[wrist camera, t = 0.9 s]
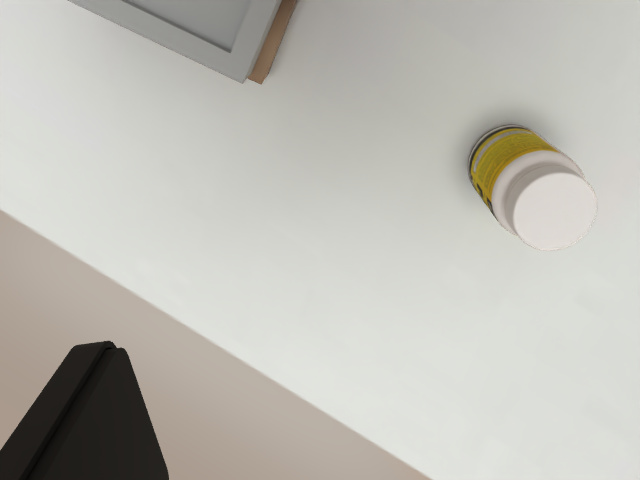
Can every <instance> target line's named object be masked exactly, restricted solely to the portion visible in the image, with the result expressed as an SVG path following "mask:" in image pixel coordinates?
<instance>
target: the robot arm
mask: <svg viewBox="0 0 640 480" xmlns="http://www.w3.org/2000/svg"><path fill="white" fill-rule="evenodd" d="M0 480H169V475H168V470H167V467H166V464H165V461H164V458H163V455H162V452H161V449H160V446H159V443H158V441H157V438H156V435H155V432H154V429H153V426H152V423H151V420H150V417H149V415H148V411H147V409H146V406H145V403H144V400H143V397H142V394H141V391H140V388H139V385H138V382H137V379H136V376H135V374H134V371H133V368H132V365H131V362H130V359H129V356H128V354H127V352H126V350H125V349H123V348H116V346H115V345H114V343H113V342H111V341H104V342H96V343H89V344H81V345H76V346H74V347H73V348H72V349H71V351H70V352H69V353H68V355H67V356H66V357H65V359H64V360H63V362H62V363H61V365H60V366H59V368H58V369H57V370H56V372H55V373H54V375H53V376H52V378H51V379H50V380H49V382H48V383H47V385H46V386H45V387H44V389H43V390H42V392H41V393H40V395H39V396H38V397H37V399H36V400H35V402H34V403H33V405H32V406H31V407H30V409H29V410H28V412H27V413H26V415H25V416H24V418H23V419H22V420H21V422H20V423H19V425H18V426H17V428H16V429H15V430H14V432H13V433H12V435H11V436H10V438H9V439H8V440H7V442H6V443H5V445H4V446H3V448H2V449H1V450H0Z"/></svg>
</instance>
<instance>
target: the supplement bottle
mask: <svg viewBox="0 0 640 480" xmlns="http://www.w3.org/2000/svg"><path fill="white" fill-rule="evenodd" d="M468 173H469V178H470V180H471V183H472V185H473V187H474V188H475V190H476V191H477V193H478V194H479V195H480V197H481V198H482V199H483V201H484V203H485V204H486V205H487V207H488V208H489V209H490V211H491V212H492V214H493V215H494V216H495V218H496V220H497V221H498V222H499V223H500V224H501V225H502V226H503V227H504V228H505V229H506V230H507V231H509V232H510V233H512V234H514V235H516V236H518V237H519V238H520V239H521V240H522V241H523V242H525V243H526V244H527V245H529V246H531V247H533V248H536V249H539V250H546V251H552V250H559V249H563V248H566V247H568V246H570V245H572V244H574V243H576V242H577V241H579V240H580V239H581V238H582V237H583V236H584V235H585V234H586V233H587V232H588V230H589V229H590V228H591V226H592V224H593V222H594V220H595V217H596V213H597V200H596V195H595V193H594V190H593V189H592V187H591V186H590V184H589V183H588V182H587V181H586V180H585V178H584V175H583V173H582V171H581V169H580V168H579V167H578V165H577V164H576V163H575V162H574V161H573V160H572V159H571V158H569V157H568V156H567V155H565V154H564V153H562V152H561V151H560V150H558V149H557V148H555V147H554V146H553V145H551V144H550V143H549V142H547V141H546V140H545V139H543V138H542V137H541V136H540V135H538V134H537V133H535V132H534V131H532V130H530V129H528V128H525V127H522V126H516V125H508V126H502V127H499V128H496V129H494V130H492V131H490V132H488V133H487V134H485V135H484V136H483V137H482V138H481V139H480V140H479V141H478V142H477V144H476V145H475V147H474V148H473V150H472V152H471V155H470V158H469V163H468Z"/></svg>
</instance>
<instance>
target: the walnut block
mask: <svg viewBox="0 0 640 480" xmlns="http://www.w3.org/2000/svg"><path fill="white" fill-rule="evenodd" d="M296 3H297V0H282V2H281V4H280V6H279V9H278V11H277V14H276V16H275V18H274V21H273V23H272V26H271V28H270V30H269V33H268V35H267V37H266V40H265V42H264V45H263V47H262V49H261V52H260V54H259V57H258V59H257V61H256V64H255V66H254V69H253V71H252V73H251V74H250V75H249V77H248V79H250V80H252V81H255V82H257V83H259V84H262V83H263V81H264V80H265V78H266V77H267V75H268V73H269V71H270V68H271V66H272V63H273V61H274V58H275V56H276V53H277V50H278V48H279V45H280V43H281V40H282V38H283V35H284V33H285V30H286V28H287V25H288V23H289V20H290V18H291V15H292V13H293V10H294V8H295V5H296Z"/></svg>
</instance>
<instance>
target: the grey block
mask: <svg viewBox="0 0 640 480" xmlns="http://www.w3.org/2000/svg"><path fill="white" fill-rule="evenodd" d="M68 1H70V2H72V3H74V4H76V5H78V6H80V7H83V8H85V9H87V10H89V11H91V12H93V13H95V14H97V15H99V16H101V17H104V18H106V19H108V20H110V21H112V22H114V23H116V24H118V25H120V26H122V27H124V28H127V29H129V30H131V31H133V32H135V33H137V34H139V35H141V36H143V37H145V38H148V39H150V40H152V41H154V42H156V43H158V44H160V45H162V46H164V47H166V48H168V49H171V50H173V51H175V52H177V53H179V54H181V55H183V56H185V57H187V58H189V59H192V60H194V61H196V62H198V63H200V64H202V65H204V66H206V67H208V68H210V69H213V70H215V71H217V72H219V73H221V74H223V75H225V76H227V77H229V78H231V79H233V80H236V81H238V82H240V83H242V84H243V82H244V81H245V80H246V79H247V78H248V77H249V75H250V74H251V73H252V71H253V69H254V66H255V64H256V61H257V59H258V57H259V54H260V52H261V49H262V47H263V45H264V42H265V40H266V37H267V35H268V33H269V30H270V28H271V26H272V23H273V21H274V18H275V16H276V14H277V11H278V9H279V6H280V4H281V2H282V0H68Z"/></svg>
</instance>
